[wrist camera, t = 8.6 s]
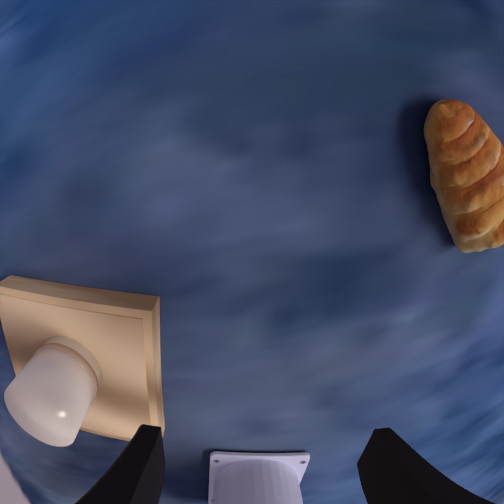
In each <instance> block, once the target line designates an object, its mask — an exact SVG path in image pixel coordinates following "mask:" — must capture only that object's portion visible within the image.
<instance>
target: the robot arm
mask: <svg viewBox="0 0 504 504" xmlns="http://www.w3.org/2000/svg"><path fill="white" fill-rule="evenodd" d="M309 459H310V455H309V453H307V452H301V453H241V452H221V451H214V452H212V453H211V454H210V471H209V497H208V504H303V501H302V496H301V491H300V486H299V484H300V482H301V479H302V477H303V474H304V472H305V469H306V467H307V464H308V462H309ZM357 466H358V471H359V477H360V481H361V485H362V489H363V492H364V494H365V497H366V500H367V503H368V504H495V503H492V502H490V501H488V500H486V499H483V498H481V497H479V496H477V495H475V494H473V493H471V492H469V491H468V490H466V489H464V488H463V487H461V486H459V485H458V484H456V483H455V482H453V481H452V480H450V479H449V478H448V477H446V476H445V475H443V474H442V473H441V472H439V471H438V470H437V469H436V468H434V467H433V466H432V465H431V464H430V463H428V462H427V461H426V460H425V459H424V458H422V457H421V456H420V455H419V454H418V453H417V452H416V451H415V450H414V449H412V448H411V447H410V446H409V445H408V444H407V443H406V442H405V441H404V440H403V439H402V438H400V437H399V436H398V435H397V434H396V433H395V432H394V431H393V430H392V429H390V428H381V429H374V431H373V433H372V436H371V438H370V440H369V442H368V444H367V445H366V447H365V449H364V451H363V453H362V455H361V457H360V459H359V461H358V463H357ZM164 468H165V457H164V449H163V440H162V430H161V427H159V426H152V425H146V424H142V425H140V426H139V428H138V430H137V431H136V433H135V435H134V436H133V438H132V439H131V441H130V442H129V444H128V445H127V446H126V448H125V449H124V451H123V452H122V453H121V455H120V456H119V457H118V458H117V460H116V461H115V462H114V463H113V465H112V466H111V467H110V468H109V470H108V471H107V472H106V473H105V474H104V475H103V476H102V478H101V479H100V480H99V481H98V482H97V483H96V484H95V485H94V486H93V487H92V488H91V489H90V490H89V491H88V492H87V493H86V494H85V495H84V496H83V497H82V498H81V499H80V500H79V501H77V502H76V503H75V504H158V502H159V498H160V494H161V490H162V484H163V476H164Z"/></svg>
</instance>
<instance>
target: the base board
mask: <svg viewBox="0 0 504 504" xmlns="http://www.w3.org/2000/svg"><path fill="white" fill-rule="evenodd" d="M0 318H1V323H2V327H3V331H4V335H5V339H6V343H7V347H8V351H9V354H10V358H11V361H12V365H13V368H14V371H15V374H16V376H17V375H18V374H19V372H20V371H21V370H22V369H23V368H24V366H25V365H26V364H27V363H28V362H29V360H30V359H31V358H32V356H33V354H34V353H35V352H36V351H37V350H38V349H39V348H40V347H41V346H42V345H43V344H44V343H45V342H46V341H47V340H48V339H50V338H52V337H55V336H64V337H68V338H71V339H74V340H76V341H77V342H79V343H81V344H82V345H84V346H85V347H86V348H87V349H88V350H89V351H90V352H91V353H92V354H93V355H94V357H95V358H96V359H97V361H98V363H99V365H100V368H101V371H102V382H101V385H100V387H99V389H98V393H97V395H96V397H95V399H94V401H93V403H92V404H91V405H90V408H89V410H88V412H87V414H86V416H85V418H84V420H83V422H82V424H81V427H80V429H79V430H83V431H86V432H90V433H94V434H98V435H103V436H107V437H111V438H116V439H121V440H126V441H131V439H132V438H133V436H134V435H135V433H136V431H137V430H138V428H139V426H140V425H142V424H146V425H152V426H159V427H161V430H162V439H163V434H164V429H165V424H164V411H163V397H162V379H161V356H160V296H153V295H145V294H136V293H128V292H120V291H112V290H105V289H98V288H90V287H83V286H76V285H70V284H63V283H57V282H50V281H44V280H38V279H32V278H26V277H20V276H15V275H10V276H8V277H6V278H5V279H3V280H2V281H0Z"/></svg>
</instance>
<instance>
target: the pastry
mask: <svg viewBox="0 0 504 504" xmlns="http://www.w3.org/2000/svg"><path fill="white" fill-rule="evenodd" d="M424 138H425V141H426V144H427V150H428V155H429V163H430V182H431V186H432V188H433V189H434V191H435V193H436V196H437V199H438V202H439V204H440V207H441V211H442V215H443V218H444V220H445V223H446V225H447V227H448V231H449V232H450V234H451V236H452V239H453V241H454V243H455V245H456V247H457V249H458V250H459V251H461V252H464V253H469V252H474V251H476V252H479V251H483V250H484V249H487V248H496V247H499V246H501V245H503V244H504V147H503V146H502V144H501V143H500V141H499V139H498V138H497V137H496V136H495V135H494V134H493V132H492V130H491V129H490V127H489V126H488V125H487V124H486V123H485V122H484V121H483V120H482V118H481V117H480V115H479V114H478V113H476V112H475V111H474V110H473V109H472V108H471V107H470V106H469V105H468V104H467V103H464V102H460V101H457V100H451V99H443V100H440V101H438V102H436V103H435V104H434V105H433V106H432V107H431V108H430V110H429V112H428V115H427V117H426V120H425V123H424Z"/></svg>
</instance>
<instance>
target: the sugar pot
mask: <svg viewBox="0 0 504 504" xmlns="http://www.w3.org/2000/svg"><path fill="white" fill-rule="evenodd" d="M101 382H102V371H101V368H100V365H99V363H98V361H97V359H96V358H95V357H94V355H93V354H92V353H91V352H90V351H89V350H88V349H87V348H86V347H85V346H84V345H82V344H81V343H79V342H77V341H76V340H74V339H71V338H68V337H64V336H55V337H52V338H50V339H48V340H47V341H46V342H45V343H44V344H43V345H42V346H41V347H40V348H39V349H38V350H37V351H36V352H35V353H34V354H33V356H32V358H31V359H30V360H29V362H28V363H27V364H26V365H25V366H24V368H23V369H22V370H21V371H20V372H19V374H18V375H17V376H16V377H15V379H14V380H13V381H12V382H11V383H10V385H9V386H8V387H7V388H6V390H5V394H4V399H5V403H6V406H7V409H8V410H9V412H10V414H11V416H12V417H13V418H14V420H15V421H16V422H17V423H18V424H19V425H20V426H21V427H22V428H23V429H24V430H25V431H26V432H27V433H29V434H30V435H31V436H33V437H34V438H36V439H38V440H40V441H42V442H44V443H46V444H49V445H52V446H58V447H64V446H68V445H70V444H72V443H73V442H74V440H75V438H76V435H77V433H78V431H79V429H80V427H81V424H82V422H83V420H84V418H85V416H86V414H87V412H88V410H89V408H90V405H91V404H92V403H93V401H94V399H95V397H96V395H97V393H98V389H99V387H100V385H101Z"/></svg>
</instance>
